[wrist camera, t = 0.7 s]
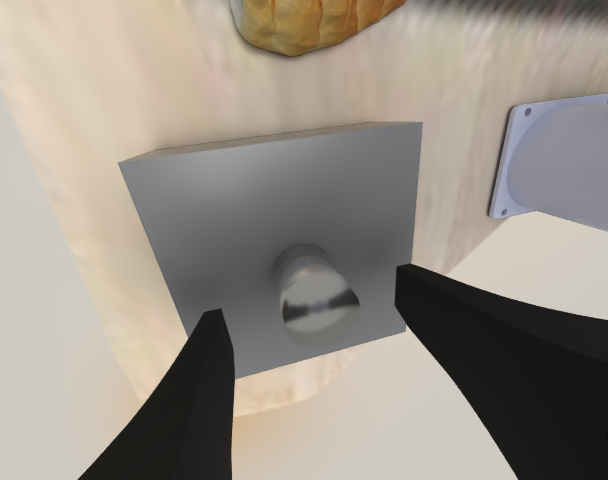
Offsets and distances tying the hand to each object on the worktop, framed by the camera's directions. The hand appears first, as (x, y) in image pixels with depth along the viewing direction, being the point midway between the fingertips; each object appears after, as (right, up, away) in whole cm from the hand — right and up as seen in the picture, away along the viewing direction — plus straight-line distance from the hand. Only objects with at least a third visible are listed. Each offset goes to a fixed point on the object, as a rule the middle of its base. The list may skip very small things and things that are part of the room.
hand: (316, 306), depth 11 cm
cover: (-2, +3, +7) cm, 8 cm away
